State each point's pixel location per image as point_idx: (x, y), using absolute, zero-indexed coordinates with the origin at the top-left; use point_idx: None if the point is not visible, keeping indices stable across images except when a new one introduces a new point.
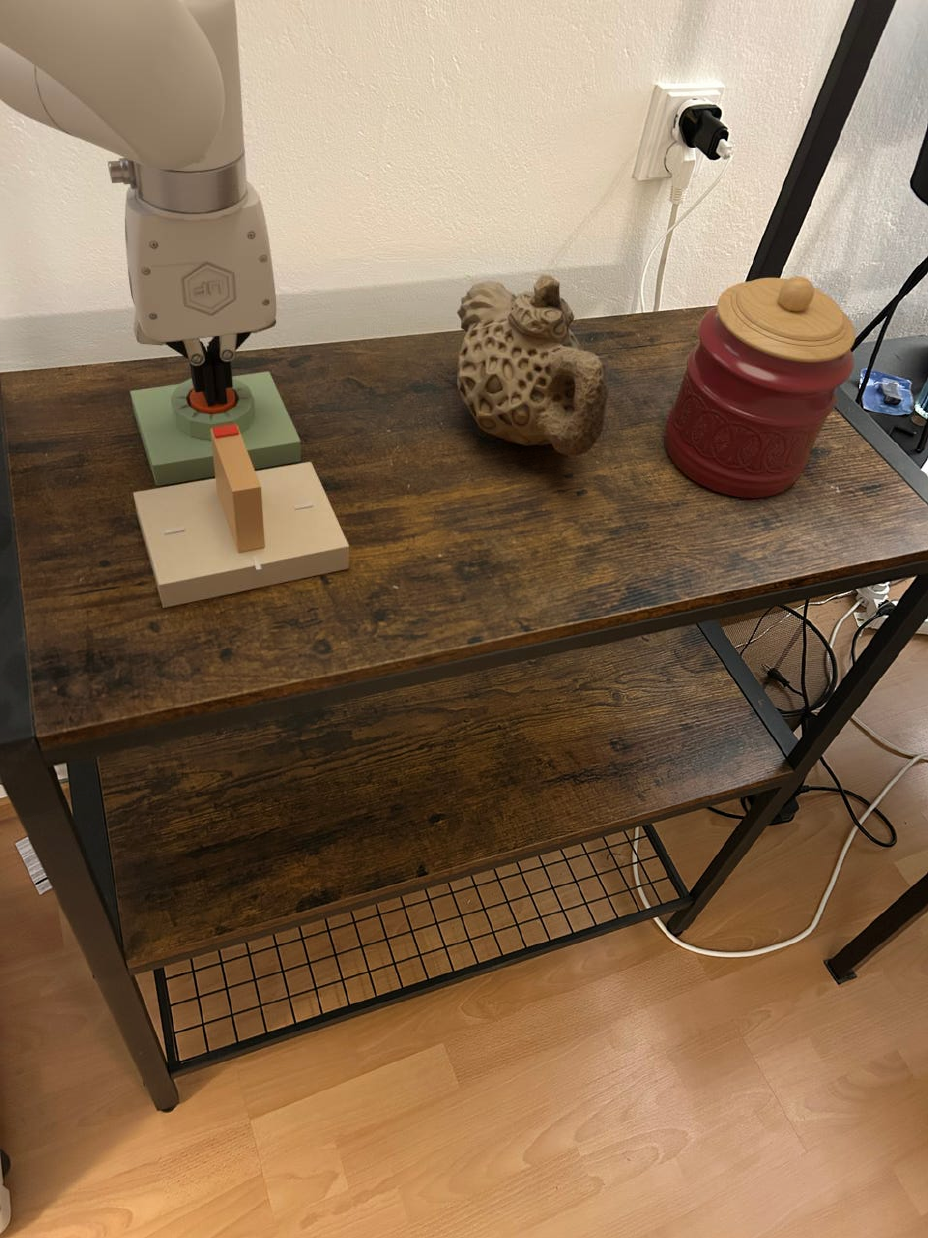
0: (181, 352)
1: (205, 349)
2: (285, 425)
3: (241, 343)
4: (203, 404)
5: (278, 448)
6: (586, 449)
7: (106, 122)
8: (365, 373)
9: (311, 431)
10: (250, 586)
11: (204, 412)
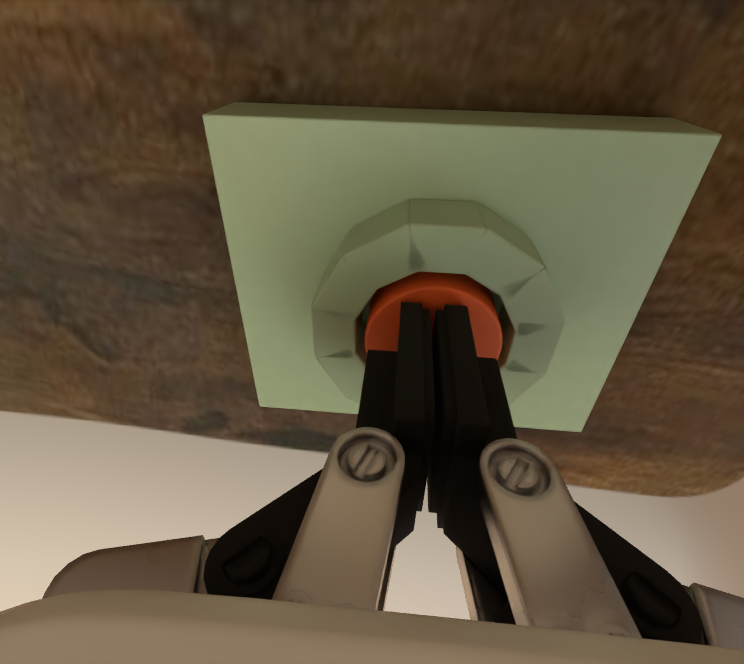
0: (584, 518)
1: (434, 499)
2: (243, 208)
3: (284, 496)
4: (474, 319)
5: (283, 114)
6: None
7: None
8: (73, 363)
9: (196, 222)
10: None
11: (479, 292)
